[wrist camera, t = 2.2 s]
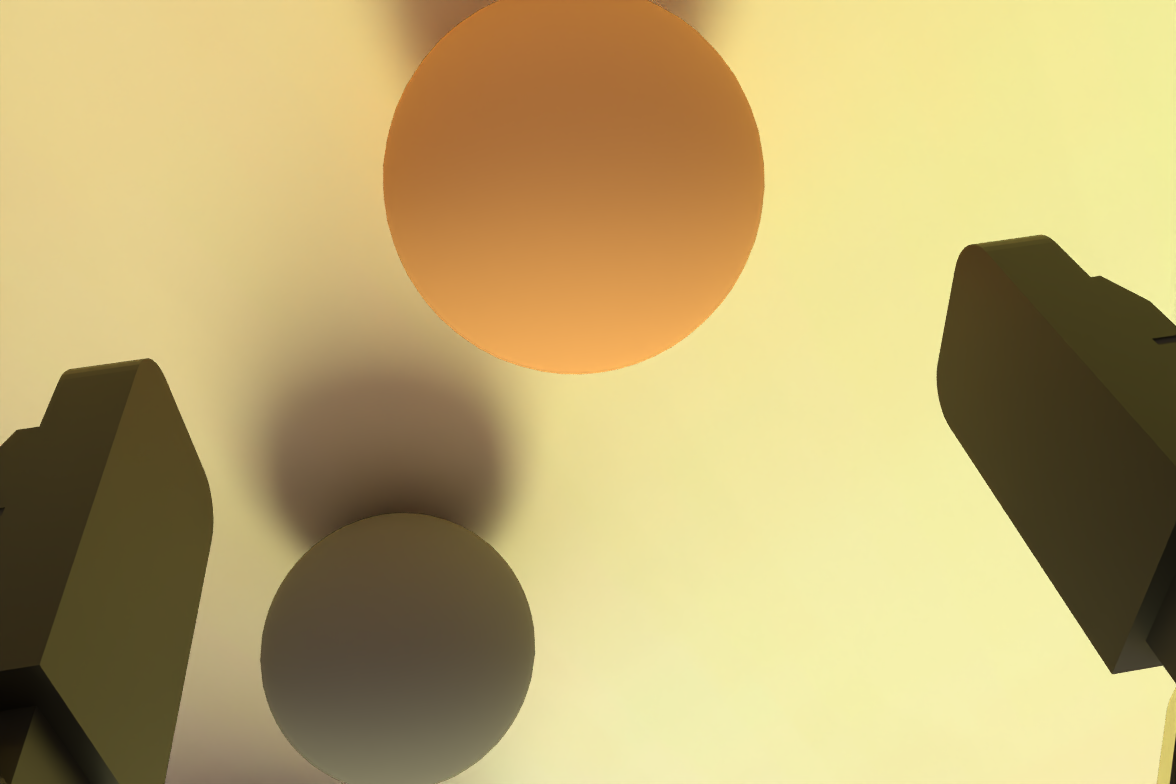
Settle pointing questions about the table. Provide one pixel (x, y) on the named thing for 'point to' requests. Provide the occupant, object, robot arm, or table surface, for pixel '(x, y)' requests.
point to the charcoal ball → (397, 651)
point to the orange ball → (573, 181)
